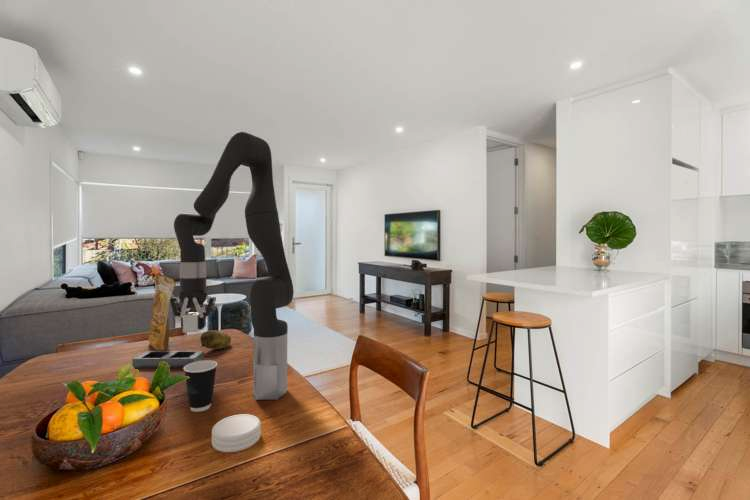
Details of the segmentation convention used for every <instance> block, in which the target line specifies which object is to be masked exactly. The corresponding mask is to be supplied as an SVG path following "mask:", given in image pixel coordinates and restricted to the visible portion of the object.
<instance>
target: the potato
mask: <svg viewBox="0 0 750 500" xmlns="http://www.w3.org/2000/svg"><path fill="white" fill-rule="evenodd" d="M231 341H232V337H231V336H230V335H229V334H227V333H223V332H219V331H216V330H213V329H211V330H206V331H204V332H203V333H201V335H200V343H201V347H204V348H207V349H213V350H217V349H219V350H223V349H222V348H224V349H226V348H228V347H229V346H230V345H231ZM225 347H226V348H225Z"/></svg>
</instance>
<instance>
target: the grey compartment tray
mask: <svg viewBox="0 0 750 500" xmlns="http://www.w3.org/2000/svg"><path fill="white" fill-rule="evenodd" d="M203 359H204V360H205V351H204V350H164V351H163V350H146V351H144V352H143V353H140V354H139V355H137V356H135V357H133V358H132V359H131V361H132V362H131V365H132V366H133V367H134V368H133V369H158V368H157V367H158V365H159V363H160V362H161V361H165V362H167V363H168V365H170V368H169V369H183V368H184V367H185V366H186V365H187V364H190V363H193V362H197V361H202V360H203ZM204 360H203V361H204ZM137 367H138V368H137Z"/></svg>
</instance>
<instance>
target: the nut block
mask: <svg viewBox="0 0 750 500" xmlns="http://www.w3.org/2000/svg"><path fill="white" fill-rule="evenodd" d="M199 318H200V316H199V313H198V312H197V311H195V312H194V311H192V312H191V311H190V312H188V313H187V314H184V315H183V328H182V334H183V333H199V332H200V331H202V330H204V329H205V327H204V328H203V329H199Z"/></svg>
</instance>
